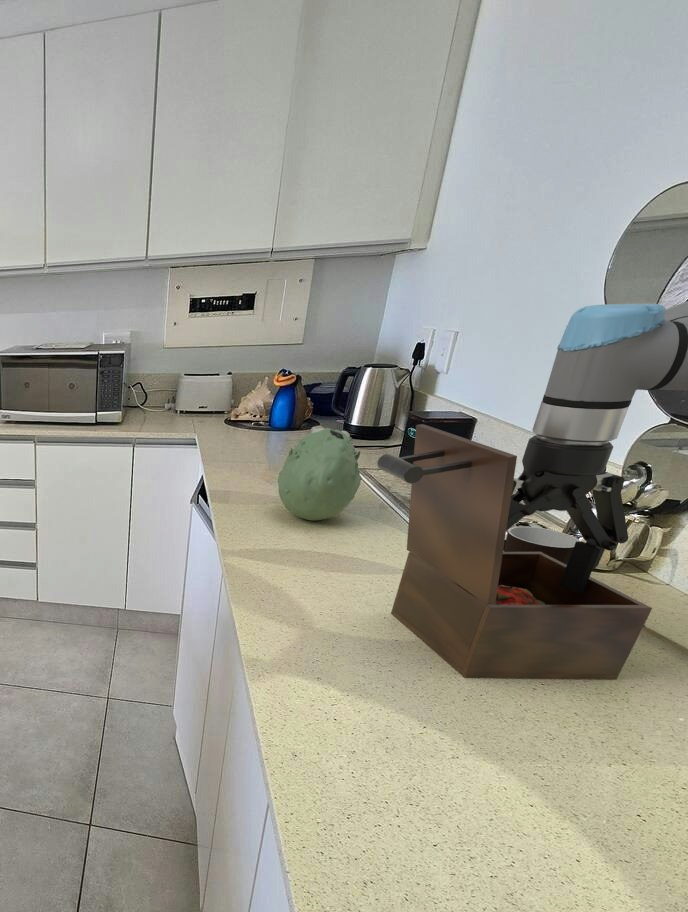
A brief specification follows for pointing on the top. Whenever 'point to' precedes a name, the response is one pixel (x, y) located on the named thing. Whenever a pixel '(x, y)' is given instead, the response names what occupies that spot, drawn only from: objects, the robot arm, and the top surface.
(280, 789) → the top surface
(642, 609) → the bread bin
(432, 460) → the bin lid
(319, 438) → the green bumpy ovoid
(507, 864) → the top surface
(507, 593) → the dragon fruit
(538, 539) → the coffee mug
